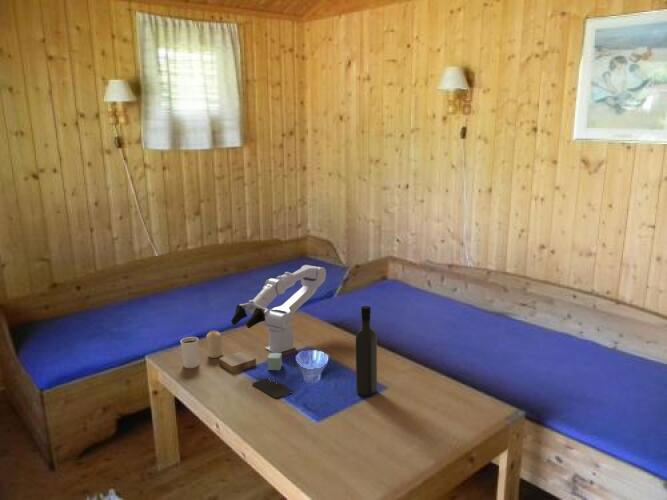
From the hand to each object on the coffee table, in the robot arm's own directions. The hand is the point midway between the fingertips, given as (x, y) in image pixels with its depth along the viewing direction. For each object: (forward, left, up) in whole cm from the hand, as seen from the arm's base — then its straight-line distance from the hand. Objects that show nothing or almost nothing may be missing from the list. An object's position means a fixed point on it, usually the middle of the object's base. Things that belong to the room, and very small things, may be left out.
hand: (240, 324), depth 201 cm
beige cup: (+13, -16, -17) cm, 27 cm away
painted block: (-9, +8, -17) cm, 21 cm away
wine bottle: (-21, +45, -17) cm, 53 cm away
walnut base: (0, -4, -18) cm, 18 cm away
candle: (+2, -18, -17) cm, 25 cm away
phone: (+1, +21, -18) cm, 28 cm away
